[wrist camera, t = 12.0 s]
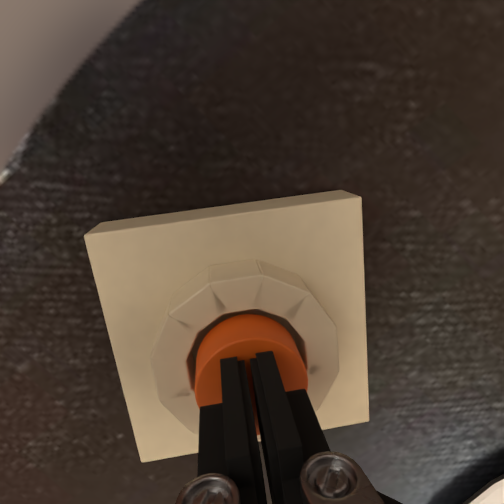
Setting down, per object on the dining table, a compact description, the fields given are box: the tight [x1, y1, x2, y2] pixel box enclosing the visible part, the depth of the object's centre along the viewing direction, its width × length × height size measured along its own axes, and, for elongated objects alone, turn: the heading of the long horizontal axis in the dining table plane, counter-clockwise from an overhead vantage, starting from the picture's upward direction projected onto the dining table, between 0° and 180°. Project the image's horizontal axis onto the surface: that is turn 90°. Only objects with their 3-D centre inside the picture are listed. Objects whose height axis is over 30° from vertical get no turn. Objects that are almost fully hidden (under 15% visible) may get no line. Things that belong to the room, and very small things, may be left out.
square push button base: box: [84, 190, 369, 462], centre depth 15 cm, size 10×10×4 cm
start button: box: [195, 314, 308, 435], centre depth 13 cm, size 4×4×2 cm
